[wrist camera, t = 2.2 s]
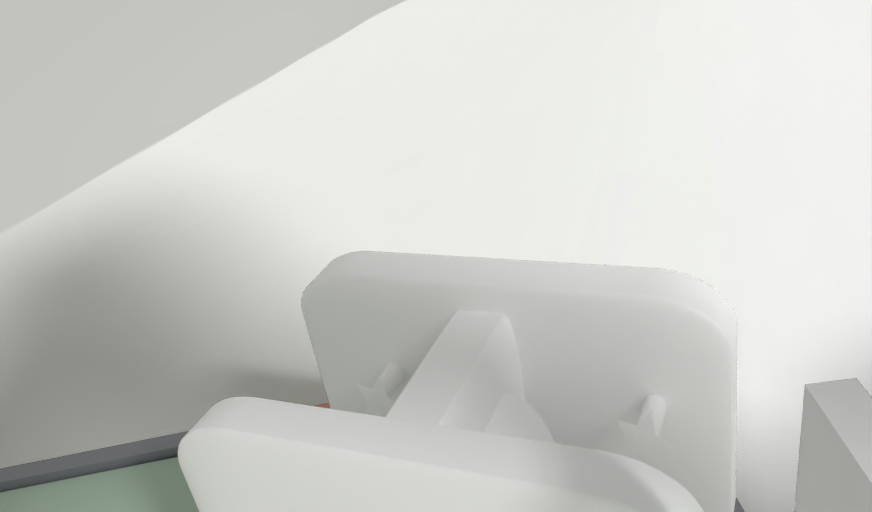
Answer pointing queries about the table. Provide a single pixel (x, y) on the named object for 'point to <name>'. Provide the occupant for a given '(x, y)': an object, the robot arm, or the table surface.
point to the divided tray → (107, 481)
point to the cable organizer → (489, 395)
